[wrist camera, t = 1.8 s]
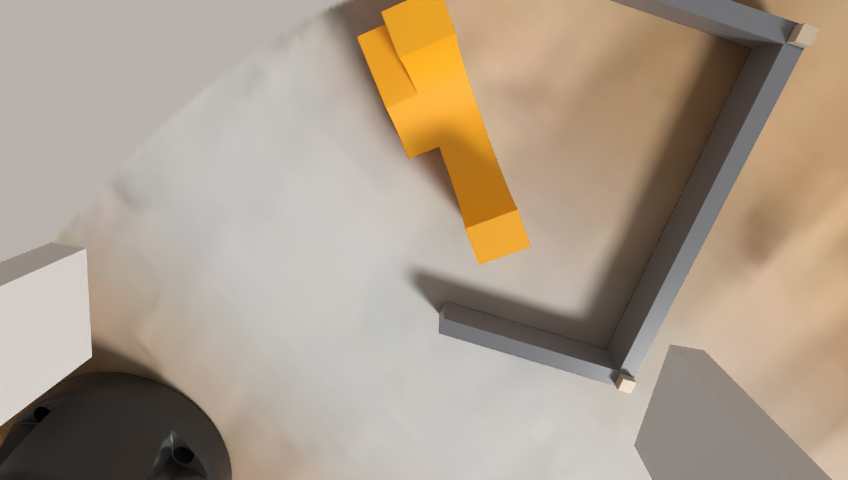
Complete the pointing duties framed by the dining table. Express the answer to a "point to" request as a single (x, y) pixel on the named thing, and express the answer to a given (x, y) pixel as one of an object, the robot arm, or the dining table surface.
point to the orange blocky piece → (443, 118)
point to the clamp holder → (696, 208)
